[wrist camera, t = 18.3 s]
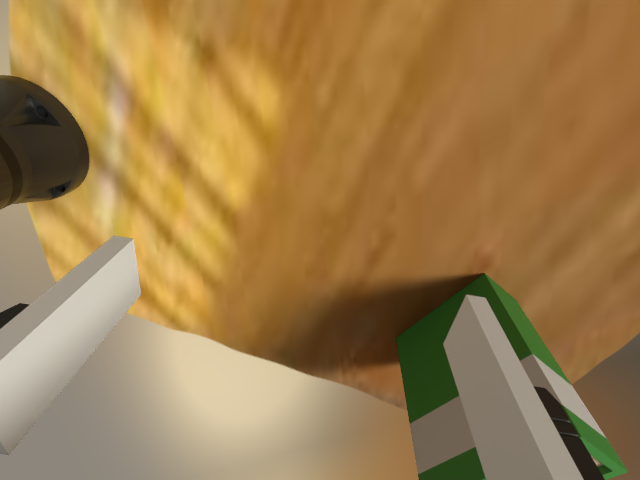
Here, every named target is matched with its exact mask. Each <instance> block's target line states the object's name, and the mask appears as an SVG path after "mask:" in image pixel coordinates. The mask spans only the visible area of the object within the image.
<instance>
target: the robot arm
mask: <svg viewBox="0 0 640 480" xmlns="http://www.w3.org/2000/svg"><path fill="white" fill-rule="evenodd" d="M88 168H89V152H88V147H87V143H86V140H85V137H84V135H83V132H82V130H81V128H80V127H79V125H78V123H77V122H76V120H75V119H74V117H73V116H72V114H71V113H70V112H69V111H68V110H67V108H66V107H65V106H64V105H63V104H62V103H61V102H60V101H59V100H58V99H57V98H55V97H54V96H53V95H52V94H50V93H49V92H48V91H46V90H45V89H43V88H42V87H40V86H38V85H36V84H34V83H32V82H30V81H28V80H25V79H22V78H18V77H14V76H5V75H3V76H2V75H0V209H2V208H4V207H6V206H9V205H11V204H18V203H26V202H35V201H44V200H51V199H55V198H58V197H61V196H63V195H65V194H67V193H69V192H71V191H72V190H74V189H76V188H77V187H78V186H79V185H80V184H81V183H82V182H83V181H84V179H85V177H86V175H87V172H88ZM140 295H141V290H140V283H139V276H138V268H137V261H136V254H135V246H134V239H131V238H125V237H119V236H113V237H111V238H110V239H109V240H108V241H107V242H105V243H104V244H103V245H102V246H101V247H99V248H98V249H97V250H96V251H94V252H93V253H92V254H91V255H90V256H88V257H87V258H86V259H85V260H84V261H82V262H81V263H80V264H79V265H77V266H76V267H75V268H74V269H73V270H71V271H70V272H69V273H68V274H67V275H65V276H64V277H63V278H62V279H60V280H59V281H58V282H57V283H56V284H54V285H53V286H52V287H51V288H50V289H48V290H47V291H46V292H45V293H43V294H42V295H41V296H40V297H39V298H37V299H36V300H35V301H34V302H33V303H31V304H30V305H28V304H22V303H20V304H18V305H15V306H13V307H11V308H9V309H7V310H5V311H3V312H1V313H0V454H5V455H9V454H10V453H11V452H12V451H13V449H14V448H15V447H16V446H17V444H18V443H19V442H20V441H21V440H22V438H23V437H24V436H25V435H26V434H27V432H28V431H29V430H30V429H31V427H32V426H33V425H34V424H35V423H36V421H37V420H38V419H39V418H40V417H41V415H42V414H43V413H44V412H45V410H46V409H47V408H48V407H49V406H50V404H51V403H52V402H53V401H54V399H55V398H56V397H57V396H58V395H59V393H60V392H61V391H62V390H63V389H64V387H65V386H66V385H67V384H68V382H69V381H70V380H71V379H72V378H73V376H74V375H75V374H76V373H77V372H78V370H79V369H80V368H81V367H82V365H83V364H84V363H85V362H86V361H87V359H88V358H89V357H90V356H91V354H92V353H93V352H94V351H95V350H96V348H97V347H98V346H99V345H100V344H101V342H102V341H103V340H104V339H105V337H106V336H107V335H108V334H109V333H110V331H111V330H112V329H113V328H114V327H115V325H116V324H117V323H118V322H119V320H120V319H121V318H122V317H123V316H124V314H125V313H126V312H127V311H128V310H129V308H130V307H131V306H132V305H133V303H134V302H135V301H136V300H137V299H138V297H139V296H140ZM443 345H444V348H445V351H446V354H447V358H448V361H449V364H450V367H451V370H452V373H453V377H454V380H455V383H456V386H457V389H458V392H459V395H460V399H461V402H462V405H463V408H464V411H465V414H466V418H467V421H468V424H469V427H470V430H471V433H472V437H473V440H474V443H475V446H476V449H477V452H478V456H479V459H480V462H481V465H482V468H483V471H484V474H485V478H486V480H605V479H604V477H603V475H602V474H601V472H600V470H599V469H598V467H597V465H596V464H595V462H594V460H593V458H592V457H591V455H590V453H589V452H588V450H587V448H586V447H585V445H584V443H583V441H582V440H581V438H579V437H578V433H577V431H576V430H575V428H574V426H573V424H570V419H569V418H568V416H567V414H566V413H565V411H564V409H563V407H562V406H561V404H560V403H559V402H558V401H557V400H556V399H555V398H554V397H553V396H552V394H551V393H550V392H549V391H548V390H547V389H546V388H542V387H536V386H533V385H532V383H531V381H530V379H529V377H528V376H527V374H526V372H525V370H524V368H523V366H522V364H521V363H520V361H519V359H518V357H517V355H516V353H515V352H514V350H513V348H512V346H511V344H510V342H509V340H508V339H507V337H506V335H505V333H504V331H503V329H502V327H501V326H500V324H499V322H498V320H497V318H496V316H495V314H494V313H493V311H492V309H491V307H490V305H489V303H488V301H487V300H486V298H484V297H478V296H472V295H466V296H465V298H464V301H463V303H462V305H461V307H460V309H459V311H458V313H457V316H456V318H455V320H454V322H453V324H452V326H451V328H450V330H449V333H448V335H447V337H446V339H445V341H444V343H443Z"/></svg>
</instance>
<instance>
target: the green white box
mask: <svg viewBox="0 0 640 480" xmlns="http://www.w3.org/2000/svg"><path fill="white" fill-rule="evenodd" d="M466 295H472V296H478V297H484V298H486V300H487V301H488V303H489V305H490V307H491V309H492V311H493V313H494V314H495V316H496V318H497V320H498V322H499V324H500V326H501V327H502V329H503V331H504V333H505V335H506V337H507V339H508V340H509V342H510V344H511V346H512V348H513V350H514V352H515V353H516V355H517V357H518V359H519V361H520V363H521V364H522V366H523V368H524V370H525V372H526V374H527V376H528V377H529V379H530V381H531V383H532V385H533V386H536V387H542V388H546V389H547V390H548V391H549V392H550V393H551V394H552V396H553V397H554V398H555V399H556V400H557V401H558V402H559V403H560V404H561V406H562V407H563V409H564V411H565V413H566V414H567V416H568V418H569V419H570V424H573V426H574V428H575V430H576V431H577V433H578V437H579V438H581V440H582V441H583V443H584V445H585V447H586V448H587V450H588V452H589V453H590V455H591V457H592V458H593V460H594V462H595V464H596V465H597V467H598V469H599V470H600V472H601V474H602V475H603V477H604V479H605V480H607V479H610V478H613V477H615V476H618V475H621V474H624V473H626V472H628V471H627V469H626V468H625V466H624V465H623V463H622V462H621V460H620V459H619V457H618V456H617V454H616V452H615V451H614V449H613V448H612V446H611V445H610V443H609V442H608V440H607V439H606V437H605V436H604V434H603V433H602V431H601V430H600V428H599V426H598V425H597V423H596V422H595V420H594V419H593V417H592V416H591V414H590V413H589V411H588V410H587V408H586V407H585V405H584V404H583V402H582V401H581V399H580V397H579V396H578V394H577V393H576V392H575V390H574V388H573V387H572V385H571V384H570V382H569V381H568V379H567V377H566V376H565V374H564V373H563V371H562V370H561V368H560V367H559V365H558V364H557V362H556V361H555V359H554V358H553V356H552V355H551V353H550V351H549V350H548V348H547V347H546V345H545V344H544V342H543V341H542V339H541V338H540V336H539V335H538V333H537V332H536V330H535V328H534V327H533V325H532V324H531V322H530V321H529V319H528V318H527V316H526V315H525V313H524V312H523V310H522V309H521V307H520V306H519V304H518V302H517V301H516V300H515V299H514V298H513V297H512V296H511V295H509V294H508V293H507V292H506V291H505V290H504V289H502V288H501V287H500V286H499V285H498V284H497V283H495V282H494V281H493V280H492V279H491V278H490V277H488V276H487V275H486V274H485V273H484V274H482V275H481V276H480V277H478V278H477V279H476V280H474V281H473V282H471V283H470V284H469V285H467V286H466V287H465V288H463V289H462V290H460V291H459V292H458V293H456V294H455V295H454V296H452V297H451V298H450V299H448V300H447V301H445V302H444V303H443V304H441V305H440V306H439V307H437V308H436V309H434V310H433V311H432V312H430V313H429V314H428V315H426V316H425V317H423V318H422V319H421V320H419V321H418V322H417V323H415V324H414V325H413V326H411V327H410V328H408V329H407V330H406V331H404V332H403V333H402V334H400V335H399V336H397V337H396V342H397V348H398V354H399V361H400V367H401V373H402V379H403V385H404V391H405V397H406V404H407V410H408V416H409V422H410V428H411V434H412V440H413V446H414V453H415V459H416V465H417V470H418V477H419V480H486V478H485V474H484V471H483V468H482V465H481V462H480V459H479V456H478V452H477V449H476V446H475V443H474V440H473V437H472V433H471V430H470V427H469V424H468V421H467V418H466V414H465V411H464V408H463V405H462V402H461V399H460V395H459V392H458V389H457V386H456V383H455V380H454V377H453V373H452V370H451V367H450V364H449V361H448V358H447V354H446V351H445V348H444V345H443V343H444V341H445V339H446V337H447V335H448V333H449V330H450V328H451V326H452V324H453V322H454V320H455V318H456V316H457V313H458V311H459V309H460V307H461V305H462V303H463V301H464V298H465V296H466Z"/></svg>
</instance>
